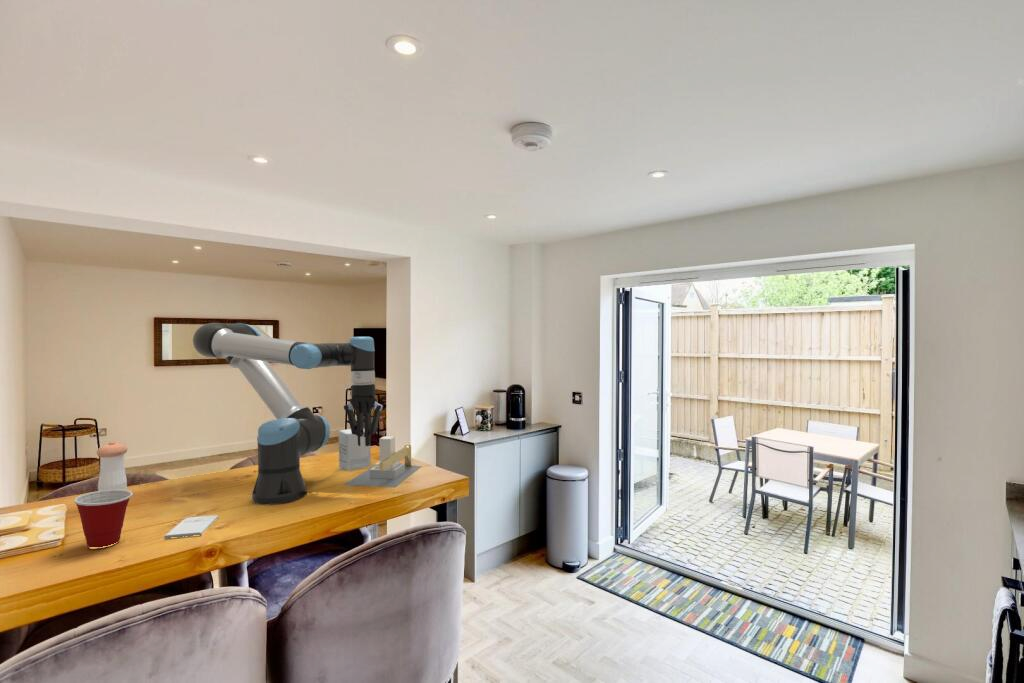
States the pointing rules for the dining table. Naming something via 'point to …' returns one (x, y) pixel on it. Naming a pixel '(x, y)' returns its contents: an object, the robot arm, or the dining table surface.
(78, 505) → the plastic cup
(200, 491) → the dining table surface
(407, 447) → the clip
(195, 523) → the external hard drive
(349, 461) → the supplement box
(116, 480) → the pepper shaker
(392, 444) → the plug
